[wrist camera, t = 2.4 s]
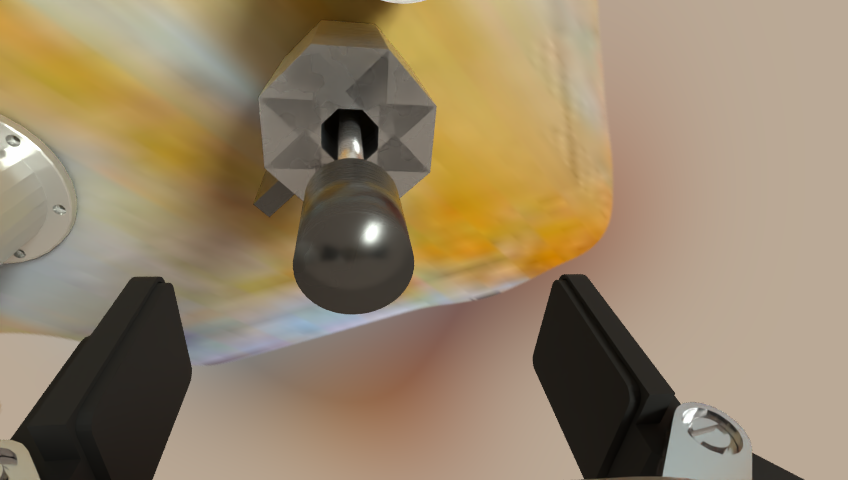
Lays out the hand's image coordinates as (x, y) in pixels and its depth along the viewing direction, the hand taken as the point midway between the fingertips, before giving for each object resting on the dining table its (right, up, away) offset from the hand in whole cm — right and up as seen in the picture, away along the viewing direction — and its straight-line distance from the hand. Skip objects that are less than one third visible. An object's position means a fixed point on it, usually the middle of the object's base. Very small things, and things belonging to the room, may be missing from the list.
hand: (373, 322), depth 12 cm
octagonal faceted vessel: (-6, +13, +23) cm, 27 cm away
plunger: (-3, +10, +17) cm, 20 cm away
